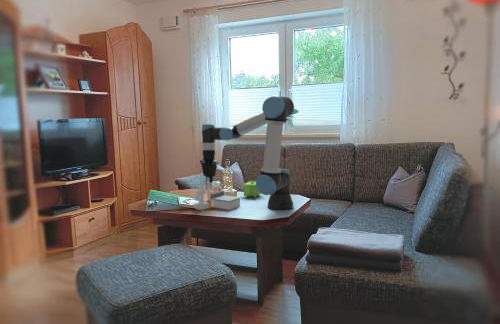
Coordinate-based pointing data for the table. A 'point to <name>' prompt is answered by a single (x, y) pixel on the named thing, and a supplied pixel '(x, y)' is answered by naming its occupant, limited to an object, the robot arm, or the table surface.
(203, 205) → the figurine
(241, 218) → the table surface
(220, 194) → the lid
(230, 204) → the mailer box
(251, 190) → the green lumpy block
